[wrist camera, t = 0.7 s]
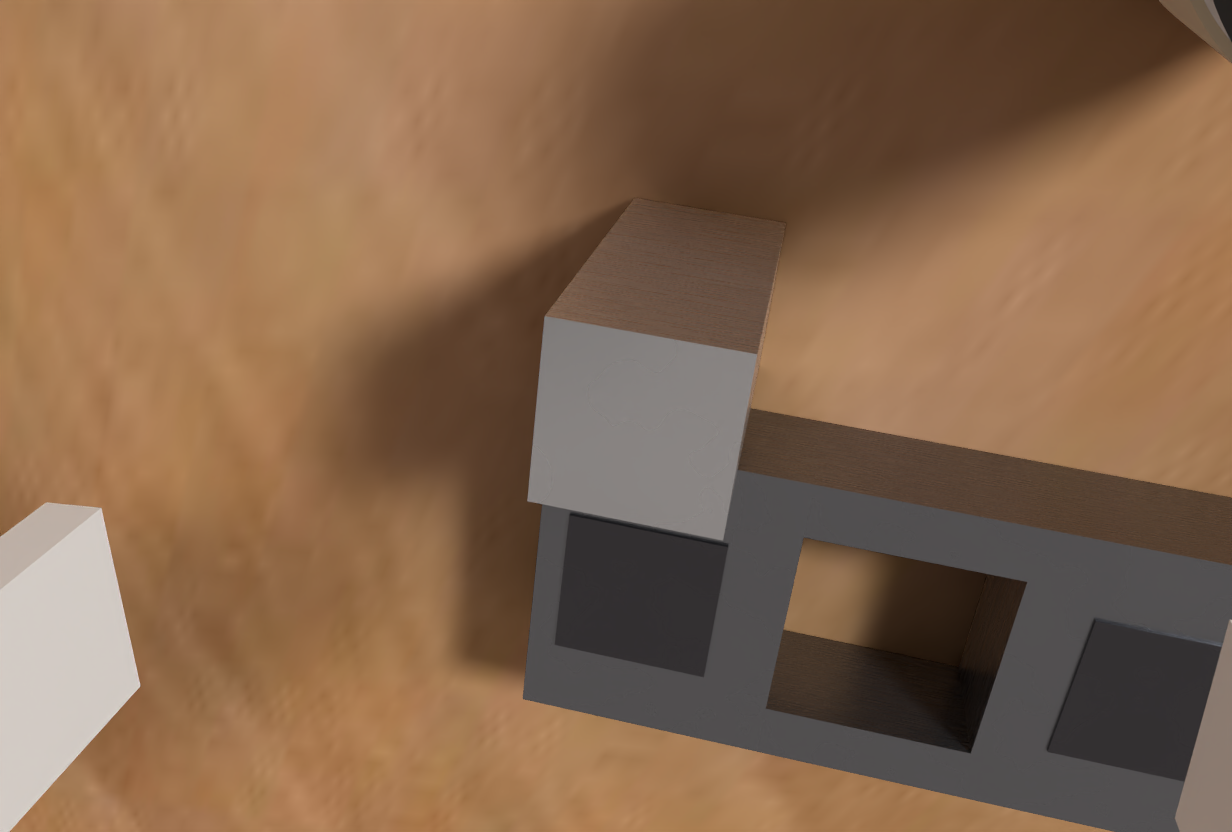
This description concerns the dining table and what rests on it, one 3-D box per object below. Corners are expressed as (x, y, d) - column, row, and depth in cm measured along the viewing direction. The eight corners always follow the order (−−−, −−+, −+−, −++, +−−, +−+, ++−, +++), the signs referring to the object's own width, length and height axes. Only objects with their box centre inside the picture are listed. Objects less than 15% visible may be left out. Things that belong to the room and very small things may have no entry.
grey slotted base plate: (554, 623, 37) (522, 701, 33) (582, 377, 33) (548, 435, 30) (1177, 756, 35) (1215, 856, 31) (1285, 508, 31) (1344, 588, 27)
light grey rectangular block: (617, 338, 32) (527, 501, 24) (634, 197, 31) (544, 316, 22) (759, 364, 32) (723, 540, 23) (785, 222, 30) (757, 354, 21)
